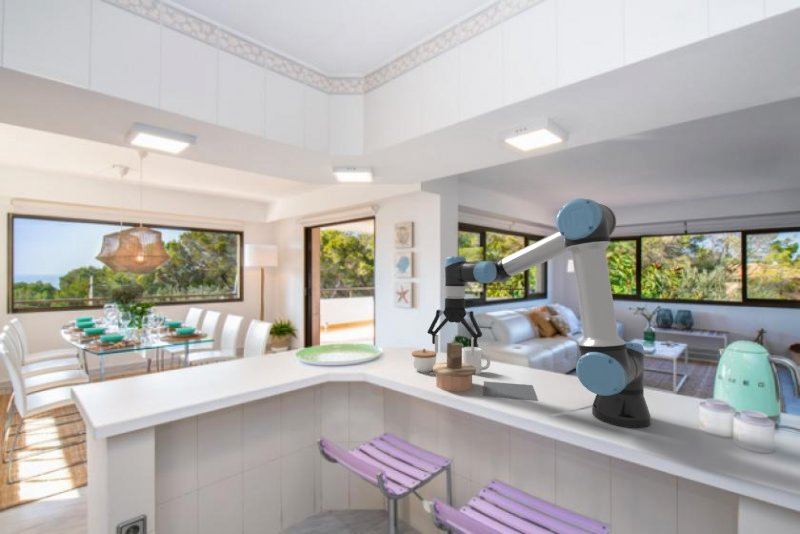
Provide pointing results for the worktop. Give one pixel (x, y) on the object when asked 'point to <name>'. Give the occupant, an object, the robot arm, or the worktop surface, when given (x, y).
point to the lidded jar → (423, 360)
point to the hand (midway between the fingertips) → (454, 354)
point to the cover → (454, 363)
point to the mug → (474, 358)
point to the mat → (509, 391)
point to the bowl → (453, 383)
